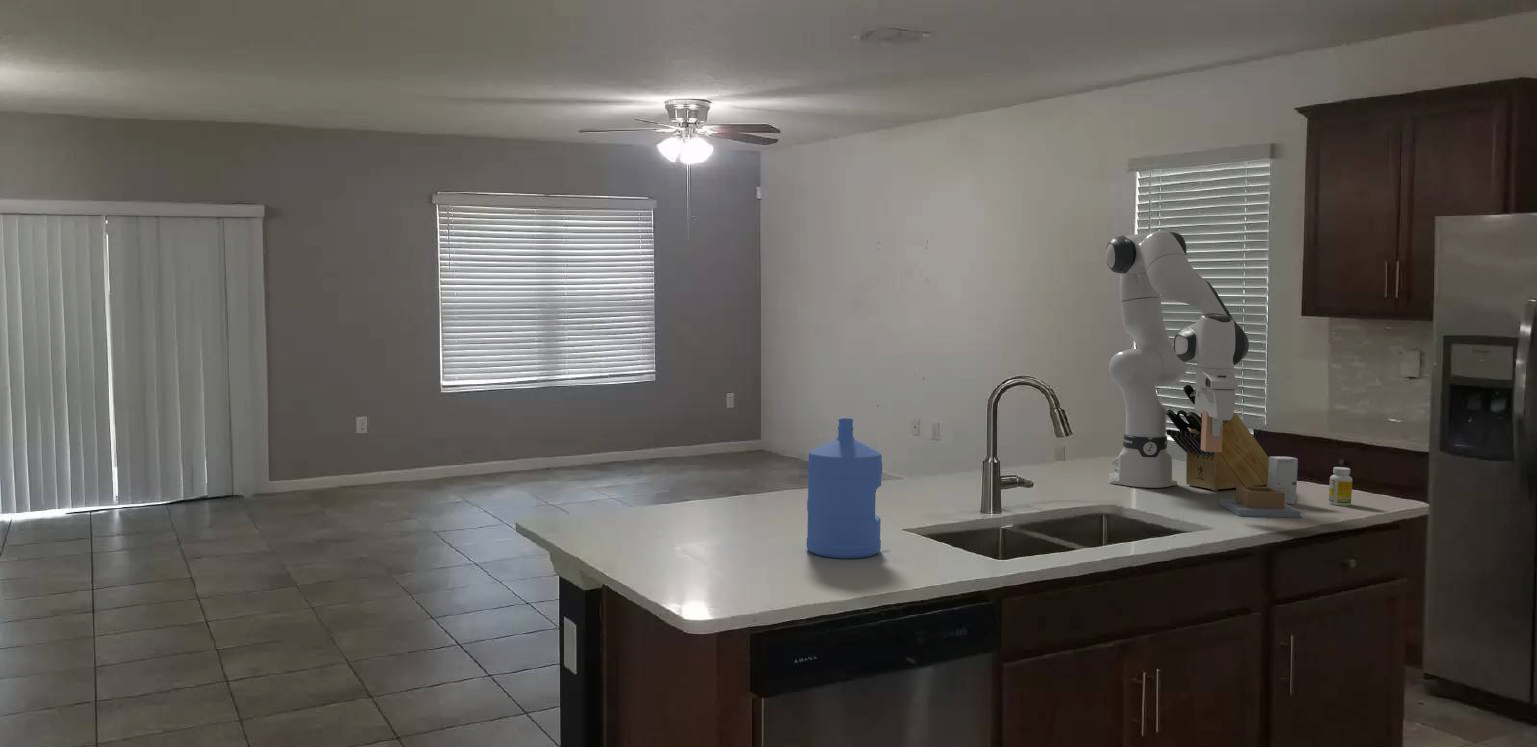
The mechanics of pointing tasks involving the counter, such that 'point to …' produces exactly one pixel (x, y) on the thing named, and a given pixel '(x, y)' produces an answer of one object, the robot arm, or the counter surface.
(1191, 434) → the knife block
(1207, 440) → the terracotta peg
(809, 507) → the water jug
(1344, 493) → the supplement bottle
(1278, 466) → the skincare box
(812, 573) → the counter surface
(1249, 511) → the collar socket
